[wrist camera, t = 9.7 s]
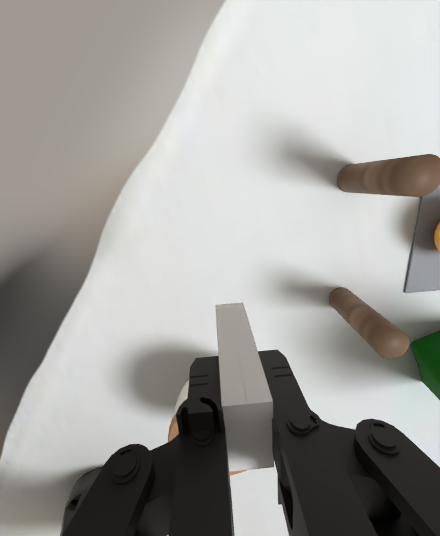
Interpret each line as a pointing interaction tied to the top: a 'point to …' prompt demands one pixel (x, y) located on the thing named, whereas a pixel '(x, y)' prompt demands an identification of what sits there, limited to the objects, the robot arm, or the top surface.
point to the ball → (437, 237)
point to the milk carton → (429, 361)
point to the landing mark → (425, 247)
